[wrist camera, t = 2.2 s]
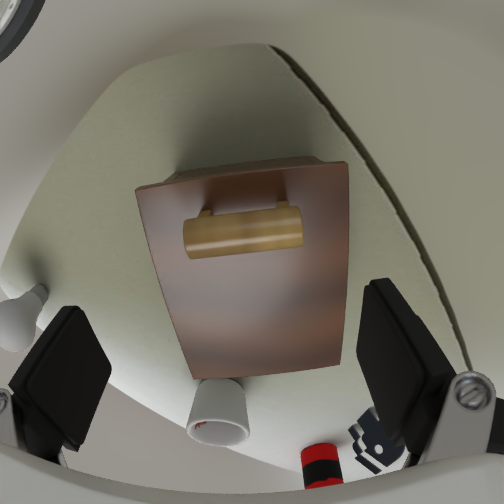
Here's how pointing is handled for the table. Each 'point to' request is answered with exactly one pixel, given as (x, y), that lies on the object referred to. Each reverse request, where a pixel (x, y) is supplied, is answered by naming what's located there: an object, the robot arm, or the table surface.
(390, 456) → the logo
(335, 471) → the soda can
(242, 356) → the lid
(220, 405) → the cup
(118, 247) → the table surface
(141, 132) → the table surface
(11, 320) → the lightbulb
